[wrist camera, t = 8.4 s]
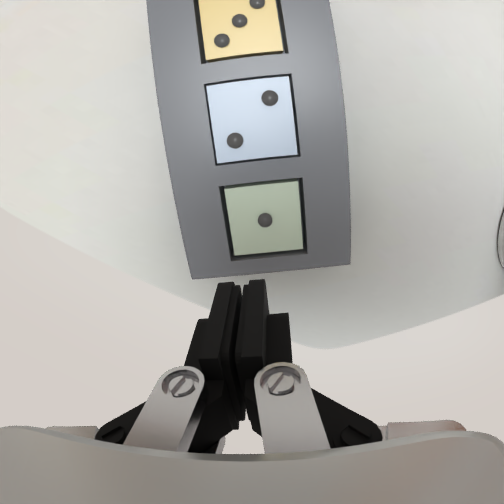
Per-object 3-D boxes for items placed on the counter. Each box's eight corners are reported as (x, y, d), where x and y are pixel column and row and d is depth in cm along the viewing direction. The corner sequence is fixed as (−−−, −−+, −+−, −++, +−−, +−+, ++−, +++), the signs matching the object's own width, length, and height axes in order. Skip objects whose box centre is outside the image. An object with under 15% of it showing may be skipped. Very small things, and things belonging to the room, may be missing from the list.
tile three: (272, -4, 17) (273, -14, 15) (281, 55, 19) (283, 49, 17) (203, 5, 17) (197, -4, 15) (210, 64, 19) (205, 59, 17)
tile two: (286, 79, 19) (288, 75, 17) (294, 150, 21) (297, 154, 19) (211, 88, 19) (205, 85, 17) (221, 159, 21) (216, 163, 19)
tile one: (295, 175, 23) (298, 181, 21) (300, 238, 25) (303, 249, 23) (227, 182, 23) (223, 189, 21) (236, 244, 25) (234, 256, 23)
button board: (314, -15, 17) (321, -33, 14) (340, 245, 26) (350, 264, 23) (160, 5, 18) (145, -9, 15) (199, 259, 27) (192, 279, 24)
